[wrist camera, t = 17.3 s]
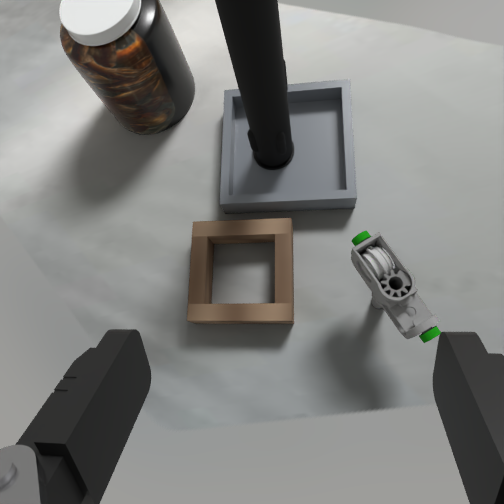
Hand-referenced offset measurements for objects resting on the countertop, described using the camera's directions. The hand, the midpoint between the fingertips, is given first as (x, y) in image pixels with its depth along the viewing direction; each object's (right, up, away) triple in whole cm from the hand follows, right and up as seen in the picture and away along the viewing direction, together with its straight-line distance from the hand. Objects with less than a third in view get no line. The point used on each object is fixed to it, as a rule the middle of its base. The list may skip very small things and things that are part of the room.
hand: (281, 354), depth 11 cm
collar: (-2, 0, +35) cm, 35 cm away
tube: (+2, +15, +38) cm, 40 cm away
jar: (-14, +24, +44) cm, 52 cm away
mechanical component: (+13, -3, +32) cm, 34 cm away
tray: (+4, +15, +38) cm, 41 cm away
